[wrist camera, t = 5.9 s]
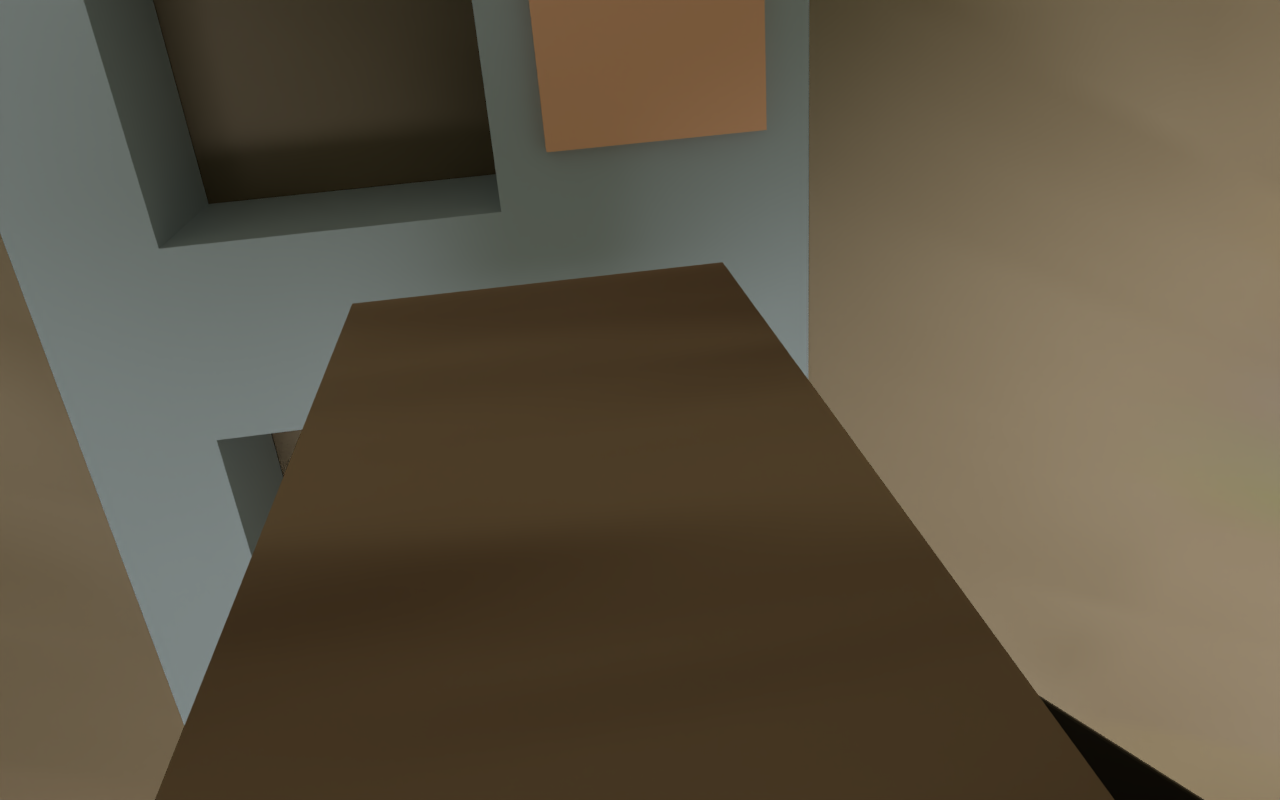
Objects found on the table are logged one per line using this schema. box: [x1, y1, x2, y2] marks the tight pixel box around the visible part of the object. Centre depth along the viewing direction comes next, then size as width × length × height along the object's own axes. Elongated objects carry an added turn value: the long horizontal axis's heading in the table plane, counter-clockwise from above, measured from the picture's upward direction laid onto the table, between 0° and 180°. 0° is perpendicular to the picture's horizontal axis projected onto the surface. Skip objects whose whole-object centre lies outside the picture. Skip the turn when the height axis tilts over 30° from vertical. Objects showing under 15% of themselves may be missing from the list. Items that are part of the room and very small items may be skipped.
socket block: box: [0, 0, 809, 726], centre depth 18 cm, size 18×13×3 cm
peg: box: [155, 262, 1114, 800], centre depth 7 cm, size 4×4×10 cm
